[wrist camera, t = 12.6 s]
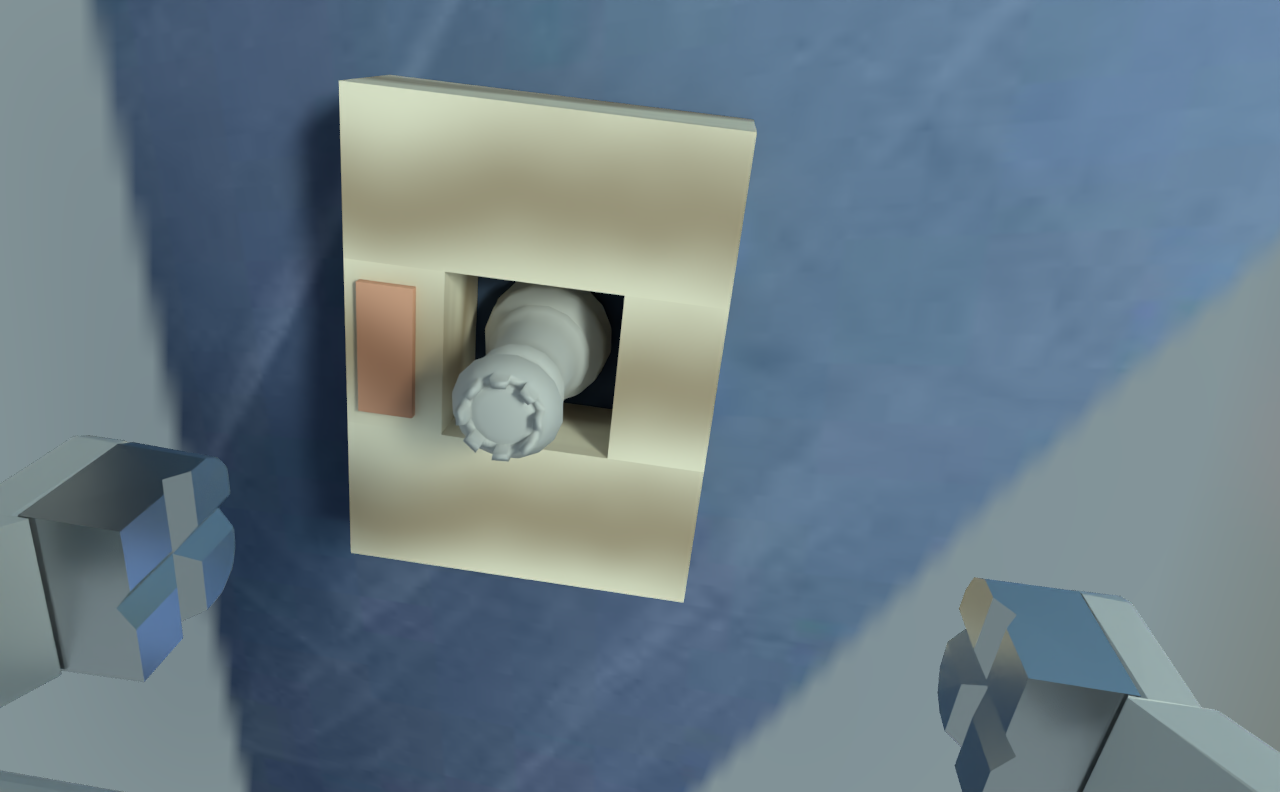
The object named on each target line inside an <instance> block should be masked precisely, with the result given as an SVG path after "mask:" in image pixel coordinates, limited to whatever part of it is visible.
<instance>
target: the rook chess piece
mask: <svg viewBox="0 0 1280 792" xmlns="http://www.w3.org/2000/svg"><path fill="white" fill-rule="evenodd" d="M611 331H612V328H611V325H610V323H609V320H608V318H607V315H606V313H605V310H604V307H603V305H602V304H601V303H600V302H599V301H598V300H597V299H596V298H595V297H594V296H593V295H592V294H591V293H590V291H586V290H578V289H571V288H563V287H556V286H548V285H541V284H533V283H526V282H516V283H514V284H513V285H512V286H511V287H510V288H509V289H508V290H507V291H506V292H505V293H504V294H503V295H501V296H500V297H499V298H498V300H497V303H496V305H495V306H494V307H493V310H492V312H491V315H490V317H489V319H488V322H487V324H486V327H485V343H486V356H485V357H483V358H480V359H477V360H475V361H473V362H472V363H471V364H470V365H469V366H468V367H467V368H466V369H465V370H464V371H462V372H461V373H460V374H459V377H458V379H457V382H456V384H455V386H454V389H453V391H452V406H453V415H454V417H455V421H456V425H459V427H460V429H461V432H462V433H463V434H464V435H465V436H466V437H465V438H464V440H463V441H464V442H465V443H466V444H467V445H468V446H469V447H470V448H471V449H472V450H473V451H474V452H475V453H476V451H477V450H478V449H479V448H480V449H482V450H484V451H486V452H488V453H491V454H493V455H492V460H495V461H507V462H509V460H510V458H522V457H525V456H529V455H532V454H535V453H539V452H540V451H541V450H542V449H544V448H545V447H546V446H547V445H548V444H550V443H551V442H552V441H553V440H554V439H555V437H556V435H557V433H558V431H559V429H560V426H561V424H562V422H563V401H564V399H566V398H570V397H573V396H576V395H578V394H580V393H581V392H582V391H583V390H584V389H585V388H587V387H588V386H589V385H590V384H591V383H593V382H594V381H595V380H596V379H597V377H598V374H599V373H600V372H601V371H602V369H603V367H604V365H605V363H606V361H607V358H608V356H609V354H610V352H611Z"/></svg>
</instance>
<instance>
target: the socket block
mask: <svg viewBox="0 0 1280 792" xmlns="http://www.w3.org/2000/svg"><path fill="white" fill-rule="evenodd" d="M339 104H340V144H341V183H342V222H343V261H344V300H345V340H346V379H347V418H348V457H349V496H350V536H351V553H356V554H363V555H369V556H376V557H383V558H389V559H396V560H403V561H409V562H416V563H423V564H429V565H436V566H443V567H449V568H456V569H463V570H470V571H476V572H483V573H490V574H496V575H503V576H510V577H516V578H523V579H530V580H536V581H543V582H550V583H556V584H563V585H570V586H576V587H583V588H590V589H596V590H603V591H610V592H616V593H623V594H630V595H637V596H643V597H650V598H657V599H663V600H670V601H677V602H684V596H685V589H686V583H687V577H688V570H689V564H690V557H691V551H692V545H693V538H694V532H695V525H696V519H697V513H698V506H699V500H700V493H701V487H702V481H703V474H704V468H705V461H706V455H707V448H708V442H709V436H710V429H711V423H712V416H713V410H714V404H715V397H716V391H717V384H718V378H719V372H720V365H721V359H722V352H723V346H724V340H725V333H726V327H727V320H728V314H729V307H730V301H731V295H732V288H733V282H734V275H735V269H736V263H737V256H738V250H739V243H740V237H741V231H742V224H743V218H744V211H745V205H746V198H747V192H748V186H749V179H750V173H751V166H752V160H753V154H754V147H755V141H756V134H757V131H756V127H755V124H754V120H752V119H744V118H736V117H728V116H720V115H711V114H703V113H695V112H687V111H679V110H671V109H663V108H655V107H647V106H638V105H630V104H622V103H614V102H606V101H598V100H590V99H582V98H573V97H565V96H557V95H549V94H541V93H533V92H525V91H517V90H508V89H500V88H492V87H484V86H476V85H468V84H460V83H452V82H443V81H435V80H427V79H419V78H411V77H403V76H395V75H384V76H375V77H366V78H357V79H348V80H340V81H339ZM478 276H481V277H488V278H496V279H503V280H511V281H518V282H526V283H533V284H541V285H548V286H556V287H563V288H571V289H578V290H586V291H593V292H601V293H608V294H616V295H623V296H625V298H624V307H623V316H622V326H621V335H620V345H619V354H618V364H617V373H616V383H615V392H614V401H613V409H607V408H600V407H593V406H586V405H578V404H571V403H564V402H563V422H562V424H561V426H560V429H559V431H558V433H557V435H556V437H555V439H554V440H553V441H552V442H551V443H550V444H548V445H547V446H546V447H545V448H544V449H542V450H541V451H540V452H539V453H535V454H532V455H529V456H525V457H522V458H510V460H509V462H507V461H495V460H492V455H493V454H491V453H488V452H486V451H484V450H482V449H480V448H479V449H478V450H477V451H476V453H475V452H474V451H473V450H472V449H471V448H470V447H469V446H468V445H467V444H466V443H465V442H464V441H463V440H464V438H465V437H466V436H465V435H464V434H463V433H462V432H461V429H460V427H459V425H456V421H455V417H454V415H453V406H452V391H453V389H454V386H455V384H456V382H457V379H458V377H459V374H460V373H461V372H462V371H464V370H465V369H466V368H467V367H468V366H469V365H470V364H471V363H472V362H473V361H475V348H476V321H477V294H478Z"/></svg>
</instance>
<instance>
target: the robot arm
mask: <svg viewBox="0 0 1280 792" xmlns="http://www.w3.org/2000/svg"><path fill="white" fill-rule="evenodd" d="M229 494H230V486H229V479H228V472H227V467H226V466H225V465H224V464H223V463H222V462H221V461H220V460H219V459H218V458H217V457H213V456H207V455H202V454H196V453H190V452H185V451H179V450H173V449H168V448H162V447H157V446H151V445H145V444H140V443H134V442H130V443H129V442H127V441H124V440H118V439H110V438H103V437H97V436H90V435H88V436H73V437H71V438H70V439H69V440H67V441H65V442H64V443H62V444H61V445H59V446H58V447H56V448H54V449H53V450H51V451H50V452H48V453H47V454H45V455H44V456H42V457H41V458H39V459H37V460H36V461H34V462H33V463H31V464H30V465H28V466H27V467H25V468H24V469H22V470H20V471H19V472H17V473H16V474H14V475H13V476H11V477H10V478H8V479H7V480H5V481H3V482H2V483H0V708H1V707H3V706H5V705H6V704H8V703H10V702H12V701H14V700H16V699H18V698H20V697H21V696H23V695H25V694H27V693H29V692H31V691H33V690H34V689H36V688H38V687H40V686H42V685H44V684H46V683H47V682H49V681H51V680H53V679H55V678H57V677H59V676H60V675H61V674H62V673H61V671H68V672H76V673H82V674H90V675H97V676H104V677H111V678H119V679H126V680H133V681H140V682H145V681H146V680H147V679H148V678H149V676H150V675H151V674H152V673H153V672H154V671H155V670H156V668H157V667H158V666H159V665H160V664H161V663H162V662H163V660H164V659H165V658H166V657H167V656H168V655H169V654H170V652H171V651H172V650H173V649H174V648H175V647H176V646H177V644H178V643H179V642H180V641H181V640H182V639H183V633H182V624H181V622H182V621H184V620H186V619H188V618H191V617H193V616H195V615H198V614H200V613H202V612H204V611H207V610H208V609H209V608H210V606H211V605H212V604H213V603H214V601H215V600H216V599H217V598H218V597H219V595H220V594H221V593H222V591H223V589H224V587H225V584H226V582H227V580H228V577H229V575H230V572H231V570H232V568H233V561H234V553H235V536H234V527H233V526H232V525H231V523H230V522H229V521H228V519H227V518H226V517H225V516H224V514H223V513H222V512H221V511H220V509H219V507H220V506H221V504H222V503H223V502H224V501H225V499H226V498H227V497H228V496H229ZM959 610H960V613H961V615H962V618H963V621H964V624H965V627H966V629H965V630H964V631H962V632H961V633H959V634H958V635H956V636H955V637H954V638H952V639H951V640H949V641H948V643H947V645H946V649H945V652H944V655H943V659H942V662H941V665H940V673H939V684H938V700H939V710H940V714H941V718H942V723H943V726H944V730H945V732H946V733H947V734H948V735H949V736H950V737H951V738H953V740H954V741H955V742H956V743H958V745H960V747H961V750H960V753H959V756H958V758H957V761H956V764H955V768H956V772H957V775H958V778H959V782H960V785H961V789H962V792H1280V753H1279V752H1278V751H1277V750H1275V749H1274V748H1272V747H1271V746H1269V745H1268V744H1266V743H1265V742H1264V741H1262V740H1261V739H1259V738H1257V737H1256V736H1255V735H1253V734H1252V733H1250V732H1249V731H1247V730H1246V729H1245V728H1243V727H1242V726H1240V725H1239V724H1237V723H1236V722H1234V721H1233V720H1231V719H1230V718H1229V717H1227V716H1225V715H1224V714H1223V713H1221V712H1220V711H1218V710H1213V709H1207V708H1201V706H1200V705H1199V703H1198V702H1197V700H1196V699H1195V697H1194V695H1193V694H1192V693H1191V691H1190V690H1189V688H1188V686H1187V685H1186V684H1185V682H1184V680H1183V679H1182V678H1181V676H1180V674H1179V673H1178V672H1177V670H1176V669H1175V667H1174V665H1173V664H1172V662H1171V661H1170V659H1169V658H1168V656H1167V655H1166V654H1165V652H1164V650H1163V649H1162V647H1161V646H1160V645H1159V643H1158V641H1157V640H1156V638H1155V637H1154V636H1153V634H1152V632H1151V631H1150V629H1149V628H1148V626H1147V625H1146V623H1145V622H1144V620H1143V619H1142V618H1141V616H1140V615H1139V613H1138V611H1137V610H1136V608H1135V607H1134V605H1132V603H1131V602H1129V601H1128V600H1126V599H1125V598H1123V597H1121V596H1117V595H1109V594H1100V593H1093V592H1084V591H1076V590H1064V589H1057V588H1049V587H1042V586H1034V585H1027V584H1019V583H1012V582H1005V581H997V580H990V579H983V578H973V580H972V581H971V583H970V584H969V586H968V587H967V589H966V590H965V593H964V596H963V599H962V602H961V604H960V607H959ZM0 792H122V791H117V790H110V789H105V788H99V787H93V786H88V785H82V784H76V783H70V782H65V781H59V780H53V779H47V778H41V777H36V776H30V775H24V774H18V773H13V772H6V771H1V770H0Z"/></svg>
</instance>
